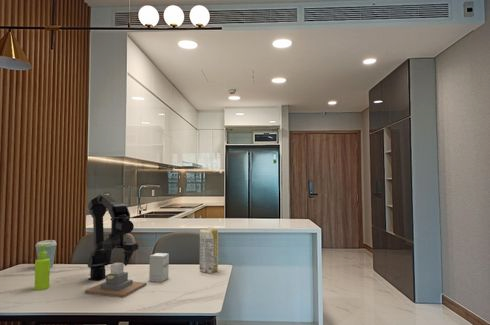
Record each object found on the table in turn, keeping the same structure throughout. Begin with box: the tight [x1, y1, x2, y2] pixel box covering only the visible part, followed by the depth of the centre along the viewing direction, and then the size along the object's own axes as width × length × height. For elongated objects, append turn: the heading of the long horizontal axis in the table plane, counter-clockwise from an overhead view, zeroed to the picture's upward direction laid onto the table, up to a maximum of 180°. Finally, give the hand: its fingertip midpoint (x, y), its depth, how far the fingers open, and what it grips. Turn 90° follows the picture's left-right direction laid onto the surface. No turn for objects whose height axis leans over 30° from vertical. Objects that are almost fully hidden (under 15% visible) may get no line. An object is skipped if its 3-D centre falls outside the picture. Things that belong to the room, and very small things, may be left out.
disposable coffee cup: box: [35, 239, 58, 269], centre depth 200 cm, size 11×11×15 cm
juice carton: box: [199, 226, 219, 274], centre depth 193 cm, size 9×8×24 cm
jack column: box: [110, 262, 125, 275], centre depth 162 cm, size 4×4×10 cm
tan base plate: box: [84, 271, 148, 298], centre depth 162 cm, size 20×18×7 cm
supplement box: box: [148, 252, 170, 283], centre depth 177 cm, size 7×7×13 cm
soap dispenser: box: [34, 244, 52, 291], centre depth 163 cm, size 6×7×20 cm
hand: (117, 264), depth 162 cm, fingers open, 9 cm apart
